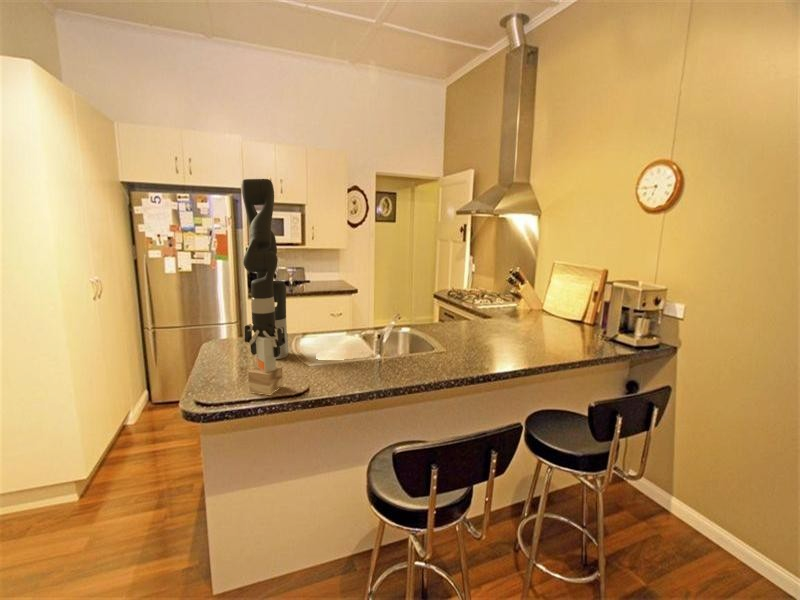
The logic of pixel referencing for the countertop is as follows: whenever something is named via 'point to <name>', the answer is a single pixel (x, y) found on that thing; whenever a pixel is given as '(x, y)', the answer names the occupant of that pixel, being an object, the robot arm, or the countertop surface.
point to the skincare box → (265, 354)
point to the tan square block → (264, 376)
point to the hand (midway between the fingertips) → (265, 355)
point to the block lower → (265, 387)
